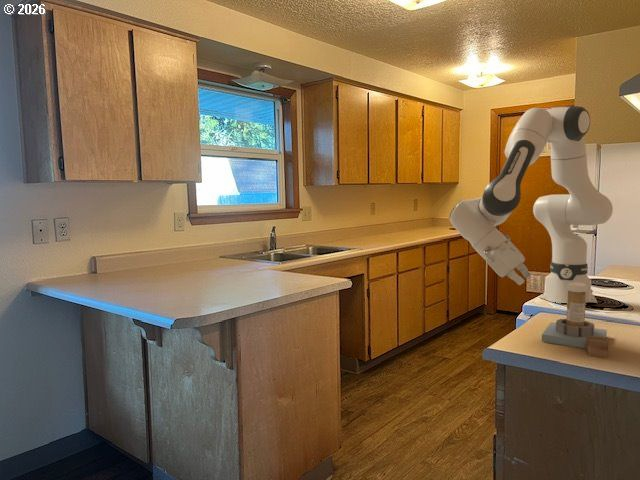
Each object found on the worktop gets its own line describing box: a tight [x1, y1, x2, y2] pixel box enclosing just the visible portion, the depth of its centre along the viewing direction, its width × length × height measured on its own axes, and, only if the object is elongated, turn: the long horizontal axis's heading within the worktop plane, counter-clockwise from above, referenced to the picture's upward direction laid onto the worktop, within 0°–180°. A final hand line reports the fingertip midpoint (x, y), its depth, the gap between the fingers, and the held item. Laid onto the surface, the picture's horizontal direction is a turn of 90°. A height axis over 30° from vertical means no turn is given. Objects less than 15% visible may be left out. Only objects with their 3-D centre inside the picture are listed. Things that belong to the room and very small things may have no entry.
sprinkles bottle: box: [565, 283, 587, 327], centre depth 126 cm, size 5×5×14 cm
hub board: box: [541, 318, 608, 349], centre depth 127 cm, size 14×14×4 cm
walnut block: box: [584, 336, 610, 358], centre depth 116 cm, size 4×4×4 cm
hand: (526, 280), depth 135 cm, fingers open, 8 cm apart
